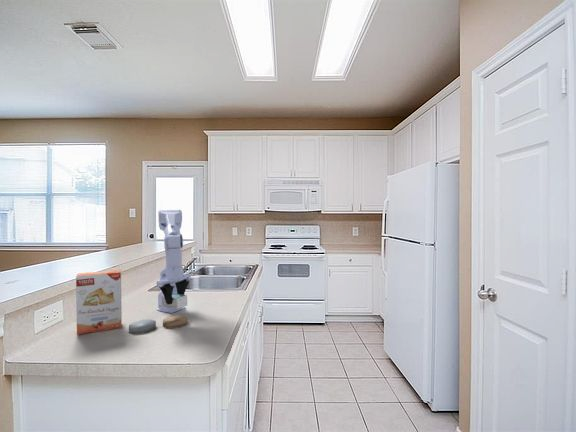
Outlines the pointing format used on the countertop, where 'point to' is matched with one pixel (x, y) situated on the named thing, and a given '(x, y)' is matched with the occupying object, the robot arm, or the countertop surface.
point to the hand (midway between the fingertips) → (174, 301)
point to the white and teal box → (176, 301)
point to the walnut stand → (175, 321)
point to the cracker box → (98, 301)
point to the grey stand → (142, 326)
